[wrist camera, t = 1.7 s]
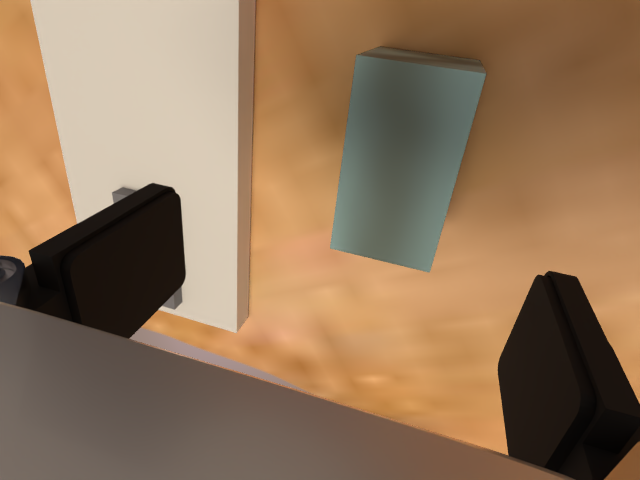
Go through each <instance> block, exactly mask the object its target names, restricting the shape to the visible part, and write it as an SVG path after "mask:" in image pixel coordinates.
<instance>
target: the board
mask: <svg viewBox="0 0 640 480" xmlns="http://www.w3.org/2000/svg"><path fill="white" fill-rule="evenodd" d="M30 1H31V5H32V10H33V15H34V20H35V25H36V29H37V34H38V39H39V44H40V48H41V53H42V58H43V63H44V67H45V72H46V77H47V82H48V86H49V91H50V96H51V101H52V105H53V110H54V115H55V120H56V124H57V129H58V134H59V139H60V144H61V148H62V153H63V158H64V163H65V167H66V172H67V177H68V182H69V186H70V191H71V196H72V201H73V205H74V210H75V215H76V220H77V224H78V223H80V222H81V221H83V220H85V219H87V218H89V217H90V216H92V215H94V214H96V213H98V212H99V211H101V210H103V209H105V208H107V207H108V206H110V205H112V204H114V203H113V196H112V192H114V191H116V190H118V189H120V188H122V187H124V188H128V189H132V190H136V191H137V190H139V189H141V188H143V187H145V186H146V185H148V184H150V183H155V184H160V185H164V186H169V187H173V188H174V189H175V192H176V193H177V194H178V195H179V196H180V199H181V211H182V225H183V240H184V254H185V268H186V277H185V281H184V283H183V285H182V286H181V288H182V301H183V302H182V303H181V304H180V305H179V306H178V307H177V308H176V309H175V310H174V309H171V308H167V307H164V306H161V307H160V308H159V309H158V310H161V311H165V312H168V313H171V314H175V315H178V316H181V317H185V318H188V319H191V320H195V321H198V322H201V323H205V324H208V325H211V326H215V327H218V328H221V329H225V330H228V331H231V332H235V333H237V332H238V331H239V329H240V328H241V326H242V325H243V324H244V322H245V321H246V319H247V318H248V305H249V262H250V220H251V178H252V136H253V93H254V51H255V9H256V0H30Z"/></svg>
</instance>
